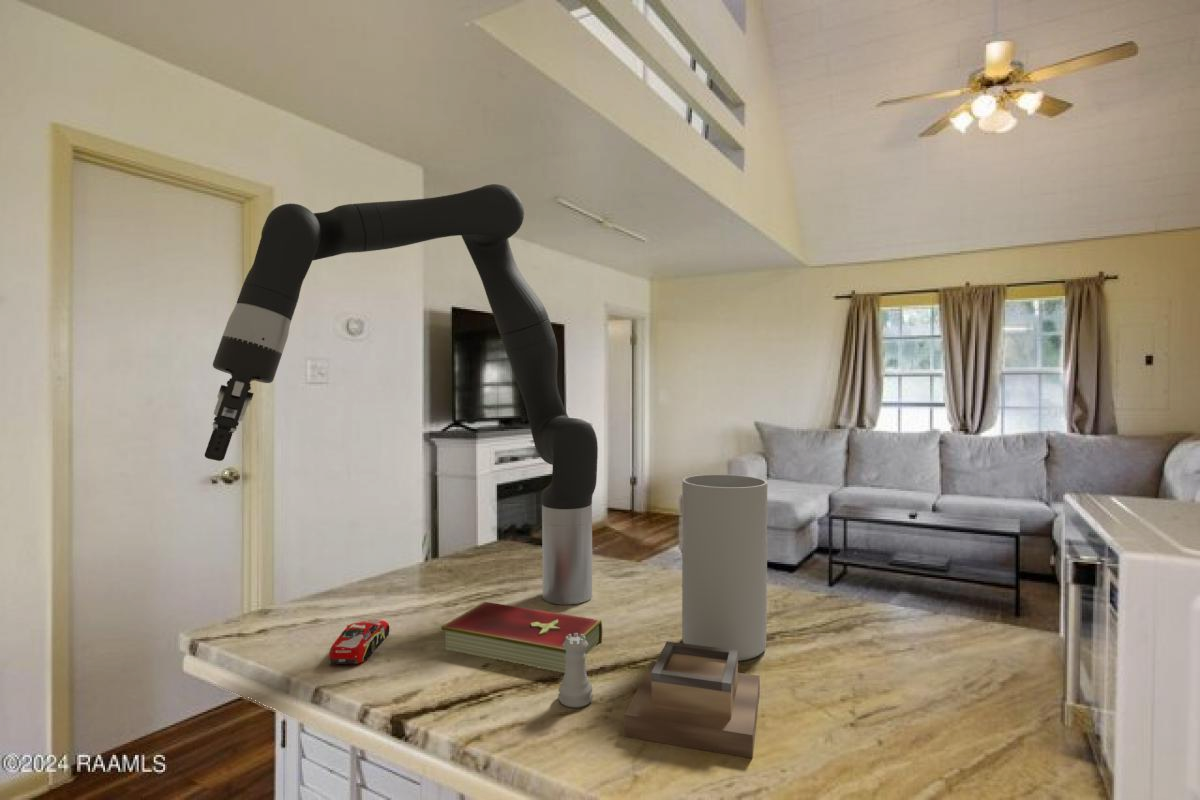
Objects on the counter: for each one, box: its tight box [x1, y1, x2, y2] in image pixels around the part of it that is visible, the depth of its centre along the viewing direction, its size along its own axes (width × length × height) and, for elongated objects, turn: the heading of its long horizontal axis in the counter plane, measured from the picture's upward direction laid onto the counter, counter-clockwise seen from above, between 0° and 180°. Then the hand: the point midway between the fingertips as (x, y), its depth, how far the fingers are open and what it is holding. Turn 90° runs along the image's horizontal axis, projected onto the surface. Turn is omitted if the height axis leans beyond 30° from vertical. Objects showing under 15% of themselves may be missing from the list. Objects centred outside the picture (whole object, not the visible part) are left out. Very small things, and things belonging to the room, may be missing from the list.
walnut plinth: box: [624, 640, 761, 759], centre depth 75 cm, size 14×14×6 cm
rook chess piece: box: [557, 633, 594, 709], centre depth 78 cm, size 4×4×8 cm
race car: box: [329, 619, 390, 665], centre depth 94 cm, size 13×5×4 cm, turn 178°
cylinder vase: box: [681, 474, 768, 662], centre depth 94 cm, size 12×12×25 cm
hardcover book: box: [440, 601, 603, 674], centre depth 95 cm, size 12×21×4 cm, turn 67°
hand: (214, 457), depth 83 cm, fingers open, 8 cm apart
